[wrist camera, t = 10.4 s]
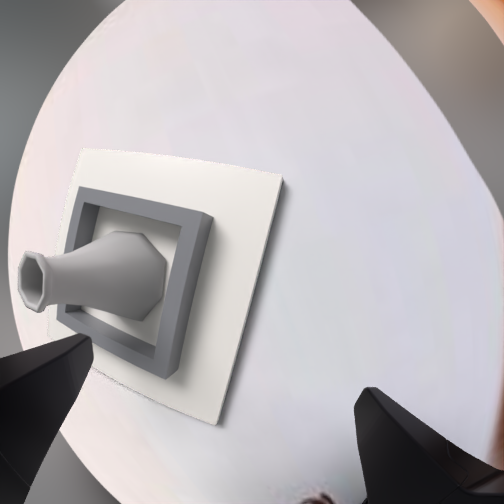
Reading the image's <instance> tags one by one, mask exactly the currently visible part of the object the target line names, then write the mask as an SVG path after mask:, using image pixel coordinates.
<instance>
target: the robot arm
mask: <svg viewBox="0 0 504 504" xmlns="http://www.w3.org/2000/svg"><path fill="white" fill-rule="evenodd" d="M93 360H94V353H93V345H92V339H91V337H90V336H88V335H85V334H83V333H78V334H75V335H72V336H69V337H66V338H63V339H59V340H56V341H53V342H50V343H47V344H44V345H41V346H38V347H35V348H32V349H28V350H25V351H22V352H19V353H16V354H13V355H10V356H6V357H3V358H0V504H24V502H25V499H26V497H27V495H28V492H29V490H30V486H31V485H32V483H33V481H34V478H35V476H36V474H37V472H38V470H39V468H40V466H41V464H42V462H43V460H44V458H45V456H46V454H47V452H48V450H49V448H50V446H51V444H52V442H53V440H54V438H55V436H56V434H57V433H58V431H59V429H60V427H61V425H62V423H63V422H64V420H65V418H66V416H67V414H68V413H69V411H70V409H71V407H72V406H73V404H74V402H75V400H76V399H77V397H78V395H79V392H80V390H81V388H82V386H83V383H84V381H85V379H86V377H87V374H88V372H89V370H90V368H91V366H92V363H93ZM354 416H355V425H356V435H357V444H358V450H359V455H360V460H361V465H362V470H363V475H364V481H365V486H366V491H367V498H366V499H365V500H364V502H363V503H362V504H504V471H503V470H499V469H496V468H494V467H492V466H490V465H488V464H486V463H484V462H483V461H481V460H479V459H477V458H475V457H474V456H472V455H470V454H468V453H467V452H465V451H463V450H462V449H460V448H459V447H457V446H456V445H454V444H453V443H452V442H450V441H449V440H446V438H444V437H443V436H442V435H440V434H439V433H437V432H436V431H435V430H433V429H432V428H430V427H429V426H428V425H426V424H425V423H424V422H422V421H421V420H419V419H418V418H417V417H415V416H414V415H413V414H411V413H410V412H409V411H407V410H406V409H405V408H403V407H402V406H400V405H399V404H398V403H396V402H395V401H394V400H392V399H391V398H390V397H389V396H387V395H386V394H385V393H383V392H382V391H381V390H379V389H378V388H376V387H366V388H364V389H363V391H362V393H361V394H360V396H359V398H358V400H357V401H356V403H355V406H354Z"/></svg>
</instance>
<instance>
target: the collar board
mask: <svg viewBox="0 0 504 504" xmlns="http://www.w3.org/2000/svg"><path fill="white" fill-rule="evenodd" d="M282 182H283V176H282V175H279V174H274V173H270V172H265V171H260V170H255V169H250V168H244V167H239V166H233V165H228V164H222V163H216V162H210V161H203V160H197V159H190V158H183V157H175V156H167V155H159V154H150V153H140V152H130V151H118V150H105V149H88V148H82V150H81V152H80V155H79V158H78V161H77V164H76V167H75V170H74V174H73V177H72V180H71V183H70V187H69V191H68V194H67V198H66V202H65V206H64V210H63V214H62V218H61V223H60V228H59V233H58V238H57V243H56V249H55V255H54V256H57V255H61V254H66V253H70V252H72V251H74V250H77V249H79V248H81V247H83V246H85V245H87V244H89V243H91V242H93V241H95V240H97V239H99V238H101V237H103V236H105V235H107V234H109V233H111V232H113V231H125V232H135V233H143V234H144V235H145V236H146V237H147V239H148V240H149V241H150V242H151V243H152V244H153V246H154V247H155V248H156V249H157V250H158V251H159V252H160V253H161V255H162V256H163V257H164V258H165V259H166V260H165V270H164V281H163V293H162V298H161V299H160V300H159V302H158V303H157V304H156V305H155V306H154V308H153V309H152V310H151V311H150V312H149V314H148V315H147V316H146V317H145V318H144V320H143V321H142V322H141V321H136V320H132V319H129V318H125V317H122V316H118V315H115V314H111V313H108V312H105V311H101V310H97V309H94V308H90V307H87V306H83V305H72V304H55V305H49V309H48V333H47V336H48V337H50V338H51V339H52V340H54V341H56V340H59V339H63V338H66V337H69V336H72V335H75V334H78V333H83V334H85V335H88V336H90V337H91V339H92V345H93V353H94V360H93V363H92V367H94V368H95V369H97V370H99V371H100V372H102V373H104V374H105V375H107V376H109V377H111V378H112V379H114V380H116V381H118V382H119V383H121V384H123V385H125V386H127V387H129V388H131V389H132V390H134V391H136V392H138V393H140V394H142V395H144V396H146V397H148V398H150V399H152V400H155V401H157V402H159V403H161V404H163V405H165V406H168V407H170V408H172V409H174V410H177V411H179V412H182V413H184V414H186V415H189V416H191V417H194V418H196V419H199V420H202V421H204V422H207V423H210V424H213V425H215V426H216V424H217V422H218V421H219V418H220V414H221V411H222V407H223V404H224V400H225V397H226V393H227V389H228V386H229V382H230V379H231V375H232V371H233V368H234V364H235V361H236V357H237V353H238V350H239V346H240V342H241V339H242V335H243V331H244V328H245V324H246V320H247V317H248V313H249V309H250V305H251V302H252V298H253V294H254V290H255V287H256V283H257V279H258V275H259V271H260V268H261V264H262V260H263V256H264V252H265V249H266V245H267V241H268V237H269V233H270V229H271V225H272V222H273V218H274V214H275V210H276V206H277V202H278V198H279V194H280V190H281V186H282Z"/></svg>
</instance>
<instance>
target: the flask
mask: <svg viewBox="0 0 504 504" xmlns="http://www.w3.org/2000/svg"><path fill="white" fill-rule="evenodd" d="M165 260H166V259H165V258H164V257H163V256H162V255H161V253H160V252H159V251H158V250H157V249H156V248H155V247H154V246H153V244H152V243H151V242H150V241H149V240H148V239H147V237H146V236H145V235H144V234H143V233H135V232H125V231H113V232H111V233H109V234H107V235H105V236H103V237H101V238H99V239H97V240H95V241H93V242H91V243H89V244H87V245H85V246H83V247H81V248H79V249H77V250H74V251H72V252H70V253H66V254H61V255H57V256H53V257H44V256H43V255H42V254H39V253H35V252H31V251H25V253H24V255H23V257H22V260H21V262H20V264H19V267H18V291H19V293H20V296H21V298H22V300H23V302H24V304H25V306H26V307H27V308H29V309H31V310H33V311H35V312H37V313H41V312H43V311H44V310H45V308H46V306H48V305H55V304H72V305H83V306H87V307H90V308H94V309H97V310H101V311H105V312H108V313H111V314H115V315H118V316H122V317H125V318H129V319H132V320H136V321H141V322H142V321H143V320H144V318H145V317H146V316H147V315H148V314H149V312H150V311H151V310H152V309H153V308H154V306H155V305H156V304H157V303H158V302H159V300H160V299H161V298H162V293H163V281H164V270H165Z"/></svg>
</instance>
